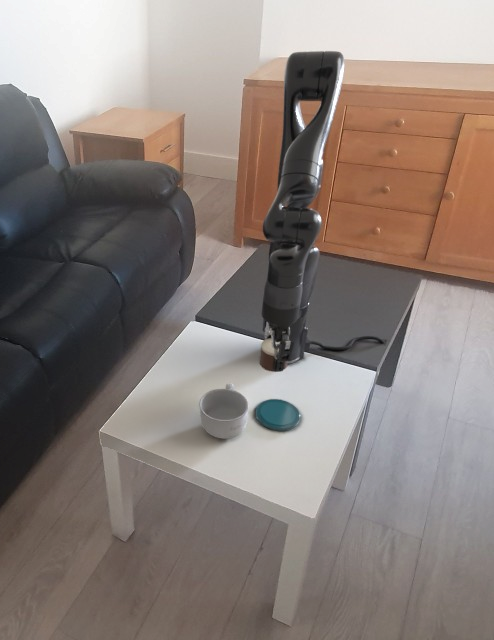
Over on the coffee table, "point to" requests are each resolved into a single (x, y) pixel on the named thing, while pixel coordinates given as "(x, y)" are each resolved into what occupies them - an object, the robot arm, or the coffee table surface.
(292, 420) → the cake plate
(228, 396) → the teacup
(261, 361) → the cake
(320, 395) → the coffee table surface
